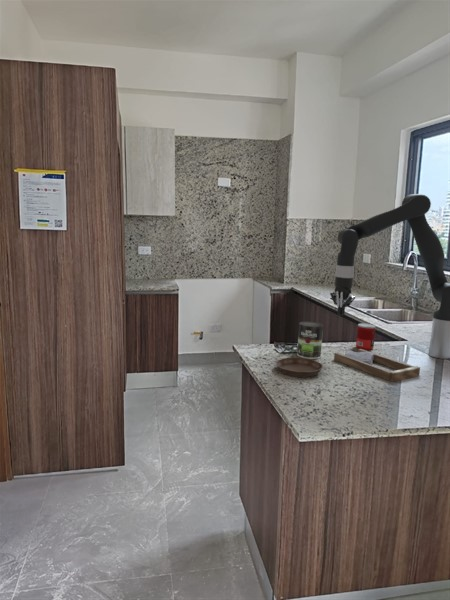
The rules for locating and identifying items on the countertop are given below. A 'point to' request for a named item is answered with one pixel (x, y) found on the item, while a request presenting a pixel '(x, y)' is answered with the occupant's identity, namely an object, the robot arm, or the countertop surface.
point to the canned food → (365, 336)
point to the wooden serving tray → (400, 374)
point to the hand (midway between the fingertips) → (340, 315)
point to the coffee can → (310, 340)
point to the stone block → (361, 356)
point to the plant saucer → (299, 367)
